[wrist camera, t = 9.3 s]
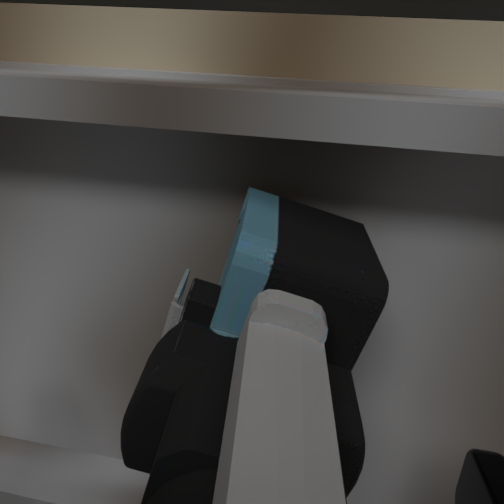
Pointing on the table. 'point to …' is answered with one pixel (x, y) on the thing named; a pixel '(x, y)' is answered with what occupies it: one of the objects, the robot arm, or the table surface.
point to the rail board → (227, 214)
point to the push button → (262, 367)
